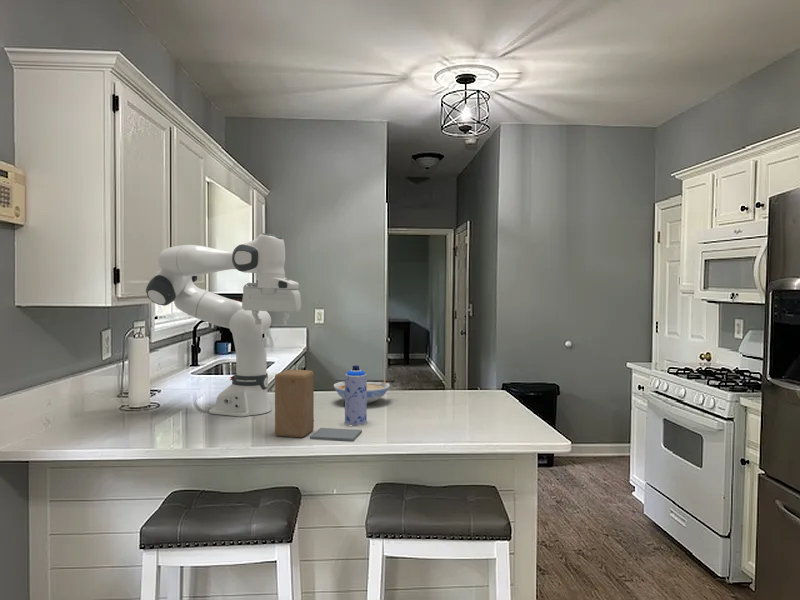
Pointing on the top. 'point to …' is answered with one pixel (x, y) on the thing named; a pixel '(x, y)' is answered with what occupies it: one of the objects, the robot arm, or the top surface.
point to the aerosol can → (355, 397)
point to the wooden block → (294, 403)
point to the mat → (336, 434)
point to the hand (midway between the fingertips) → (270, 325)
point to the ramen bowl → (373, 389)
